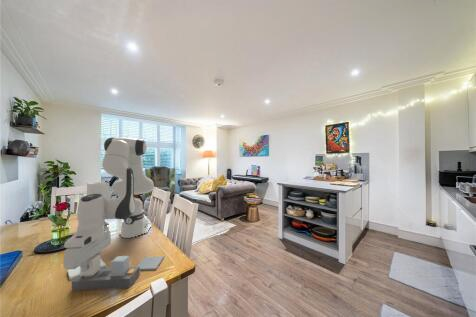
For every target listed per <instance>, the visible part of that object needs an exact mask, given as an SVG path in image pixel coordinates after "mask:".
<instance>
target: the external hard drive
mask: <svg viewBox="0 0 476 317" xmlns="http://www.w3.org/2000/svg"><path fill="white" fill-rule="evenodd" d="M100 268H106V263H105V261H103V259H102V258H101V261H100ZM67 275H68V276H67V277H68V279H69V281H73V280H74V279H76V278H77V277H78V276H80V266H79V267H77V268H76V269H67Z"/></svg>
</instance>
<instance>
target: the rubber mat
mask: <svg viewBox="0 0 476 317" xmlns="http://www.w3.org/2000/svg"><path fill="white" fill-rule="evenodd" d="M164 258H165V256H144V257H143V258H142V259H141V260H140V262H139V263H138V264H136V266H135V267H140V272H141V271H156V270H157V269H158V268H159V266H160V265H161V263H162V262H163V260H164Z"/></svg>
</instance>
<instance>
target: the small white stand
mask: <svg viewBox="0 0 476 317" xmlns="http://www.w3.org/2000/svg"><path fill="white" fill-rule="evenodd" d="M91 194H101V195H102V196H103V198H110V182H109V181H108V182H107V181H97V182H96V181H95V182H86V195H91ZM103 221H104V226H107V225H109V224H110V223H108V222H106V219H103ZM109 226H110V225H109Z"/></svg>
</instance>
